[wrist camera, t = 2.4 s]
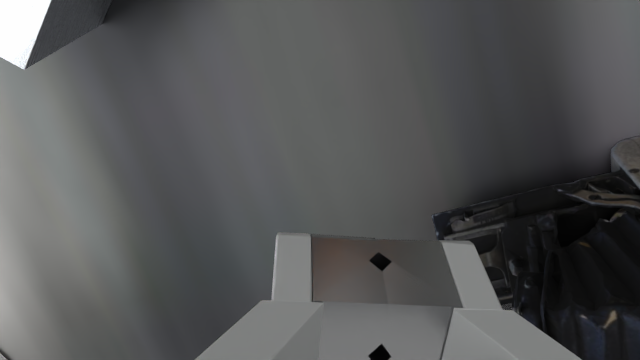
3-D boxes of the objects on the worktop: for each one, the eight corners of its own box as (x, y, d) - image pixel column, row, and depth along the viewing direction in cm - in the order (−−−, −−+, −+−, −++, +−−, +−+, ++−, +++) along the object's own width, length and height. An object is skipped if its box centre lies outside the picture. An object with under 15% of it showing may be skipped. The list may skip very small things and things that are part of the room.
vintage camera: (423, 176, 41) (467, 409, 24) (661, 124, 38) (909, 344, 21) (449, 285, 46) (502, 550, 28) (665, 245, 43) (875, 513, 25)
